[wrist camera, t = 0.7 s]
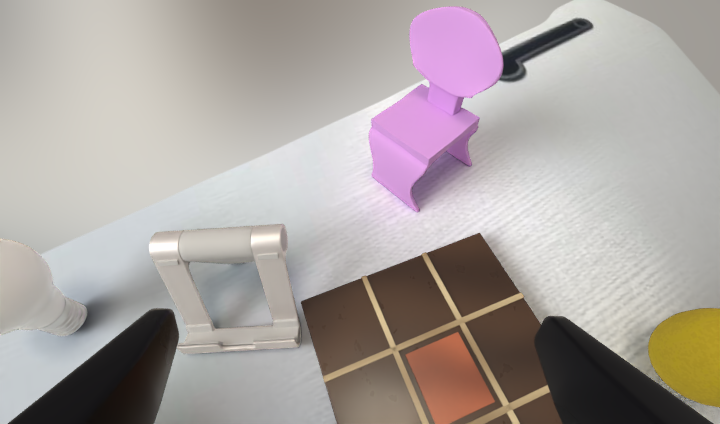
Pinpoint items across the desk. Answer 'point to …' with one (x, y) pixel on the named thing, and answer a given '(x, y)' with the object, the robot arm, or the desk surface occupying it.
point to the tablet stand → (229, 248)
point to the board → (431, 344)
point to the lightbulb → (33, 294)
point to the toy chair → (435, 98)
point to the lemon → (689, 354)
